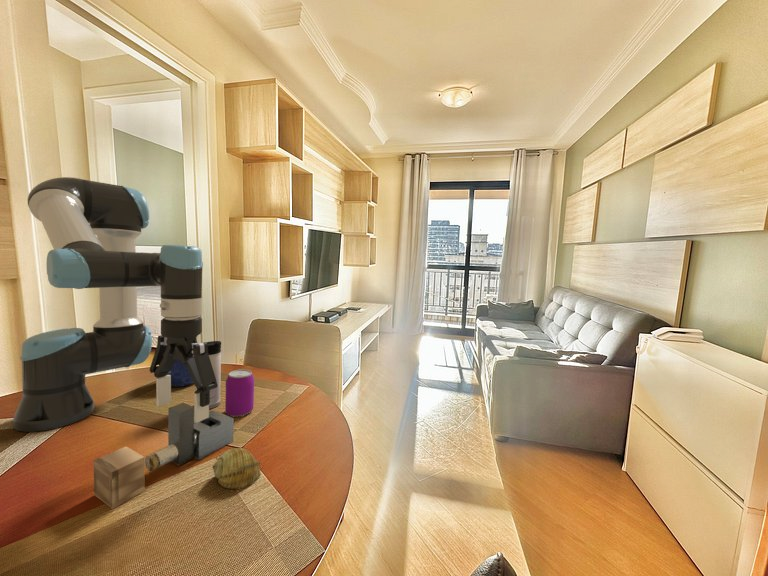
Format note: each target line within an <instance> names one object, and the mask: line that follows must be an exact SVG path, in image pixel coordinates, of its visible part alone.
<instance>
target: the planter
mask: <svg viewBox="0 0 768 576" xmlns="http://www.w3.org/2000/svg"><path fill="white" fill-rule="evenodd" d="M193 357H194V355H193ZM193 357H192V358H193ZM170 371H171V372H170V374H166V375H171V387H184V386H185V387H186V386H190V385H192V384H193V385H194V382H193V380H192V378H191V375H190V373H189V371H188V369H187V367H186V365H183V364H182V362H181V361H179V360H178V359H177V360H176V362H175V363H174V365H173V366H172V368H171V370H170Z"/></svg>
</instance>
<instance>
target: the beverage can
mask: <svg viewBox="0 0 768 576" xmlns="http://www.w3.org/2000/svg"><path fill="white" fill-rule="evenodd" d="M254 397H255V378H254V374H253V372H252V370H250V369H243V368H241V369H236V370H231V371H230V372H229V373H228V375H227V377H226V380H225V414H226V415H227V416H229V415H230V416H229V417H232V416H234V417H233V418H239V417H238V416H241V417H243V415H245V416H246V414H247V415H248V413H249V412H250V413H251V412H252V411H253V409H254V403H255V399H254ZM250 413H249V414H250Z"/></svg>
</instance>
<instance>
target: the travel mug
mask: <svg viewBox="0 0 768 576" xmlns="http://www.w3.org/2000/svg"><path fill="white" fill-rule="evenodd" d="M205 342H206V341H205ZM206 343H207V345H208V354H209V358H210V361H211V364H212V368H213V371H214V374H215V378H216V381H217V384H218V386H217V388H214V389H211V390H210V403H209V410H210V409H214V408H216V406H217V407H218V406H219V405H221V382H222V381H221V380H222V379H221V376H222V375H221V374H222V373H221V372H222V371H221V369H222V367H221V366H222V349H221V348H222V341H219V340H212V341H207V342H206ZM201 385H202V384H201Z"/></svg>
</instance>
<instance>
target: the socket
mask: <svg viewBox="0 0 768 576" xmlns="http://www.w3.org/2000/svg"><path fill="white" fill-rule="evenodd" d="M145 468H146V466H145V456H144V455H142V454H140V453H139V452H137V451H135V450H133V449H132V448H130V447H128V446H124V447H121V448H119V449H116V450H114V451H112V452H109V453H107V454H104V455H103V456H100V457H97V458H96V459H95V458H94V459H93V490H94V491H93V495H94V496H95V497H96V498H98V499H99V501H102V502H103V503H104V504H105V505H107V506H108V507H109V508H111V509H113V510H114V509H115V508H116V507H119V506H120V505H122V504H124V503H126V502H127V501H129V500H131V499H133V498H135V497H136V496H138V495H140V494H141V493H144V492H145V482H146V481H145V476H146V475H145Z"/></svg>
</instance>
